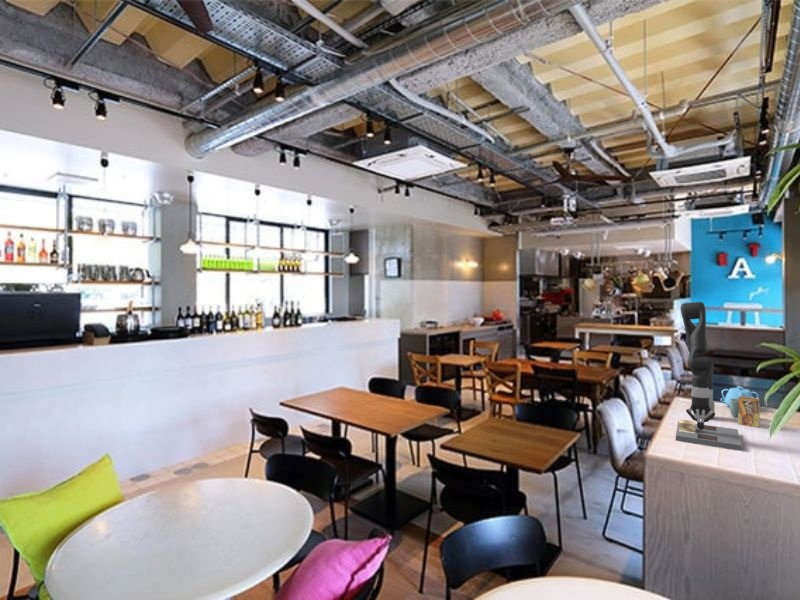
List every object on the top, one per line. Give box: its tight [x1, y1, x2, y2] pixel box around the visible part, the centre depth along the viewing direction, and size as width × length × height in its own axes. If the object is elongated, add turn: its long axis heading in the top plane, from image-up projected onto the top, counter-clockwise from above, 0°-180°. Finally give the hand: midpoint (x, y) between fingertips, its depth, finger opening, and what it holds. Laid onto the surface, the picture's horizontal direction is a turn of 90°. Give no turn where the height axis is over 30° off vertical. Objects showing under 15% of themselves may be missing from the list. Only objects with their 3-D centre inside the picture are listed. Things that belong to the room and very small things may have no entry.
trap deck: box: [675, 420, 743, 451], centre depth 223 cm, size 26×28×2 cm
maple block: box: [678, 418, 696, 432], centre depth 228 cm, size 7×7×4 cm
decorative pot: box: [720, 385, 760, 408], centre depth 275 cm, size 16×16×14 cm
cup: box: [729, 399, 738, 419], centre depth 256 cm, size 8×8×10 cm
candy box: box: [737, 396, 761, 428], centre depth 241 cm, size 9×4×15 cm, turn 44°
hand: (700, 429), depth 224 cm, fingers closed
